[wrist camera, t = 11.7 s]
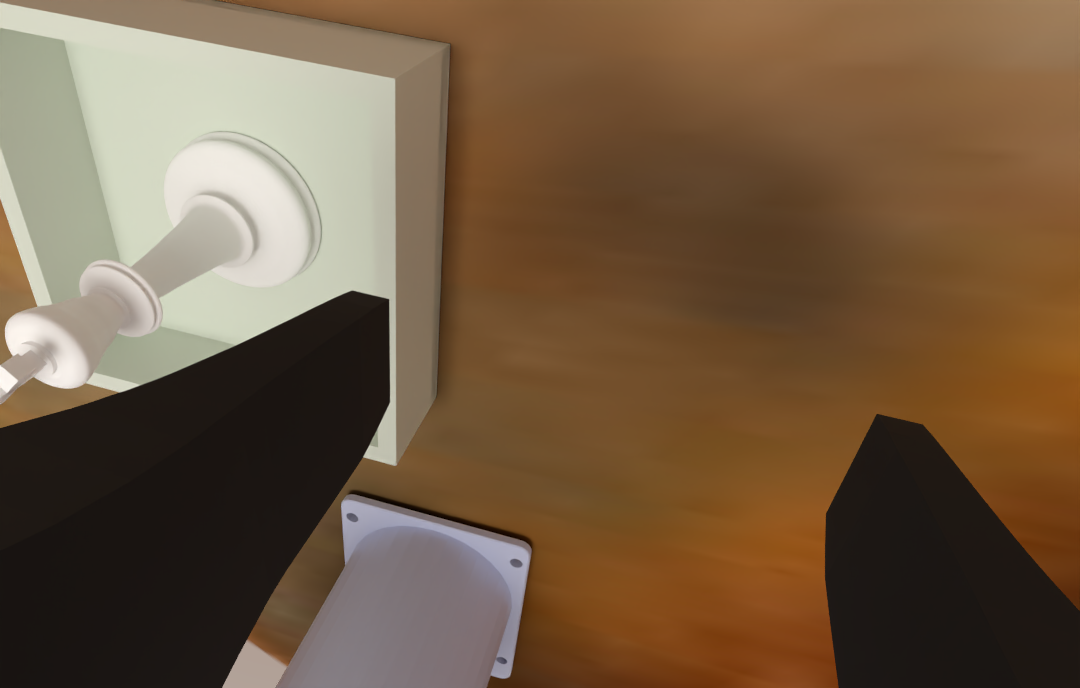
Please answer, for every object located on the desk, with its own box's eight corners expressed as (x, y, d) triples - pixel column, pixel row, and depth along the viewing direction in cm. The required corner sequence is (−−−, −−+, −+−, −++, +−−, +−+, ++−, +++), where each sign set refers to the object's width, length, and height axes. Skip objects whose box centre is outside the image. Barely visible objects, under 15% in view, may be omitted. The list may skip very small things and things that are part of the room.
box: (436, 396, 26) (396, 465, 23) (135, 321, 27) (61, 376, 24) (450, 43, 19) (395, 78, 16) (45, -31, 20) (-73, -12, 18)
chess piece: (148, 191, 23) (-175, 372, 15) (229, 96, 21) (-108, 253, 12) (263, 304, 25) (25, 525, 17) (352, 229, 22) (122, 447, 14)
